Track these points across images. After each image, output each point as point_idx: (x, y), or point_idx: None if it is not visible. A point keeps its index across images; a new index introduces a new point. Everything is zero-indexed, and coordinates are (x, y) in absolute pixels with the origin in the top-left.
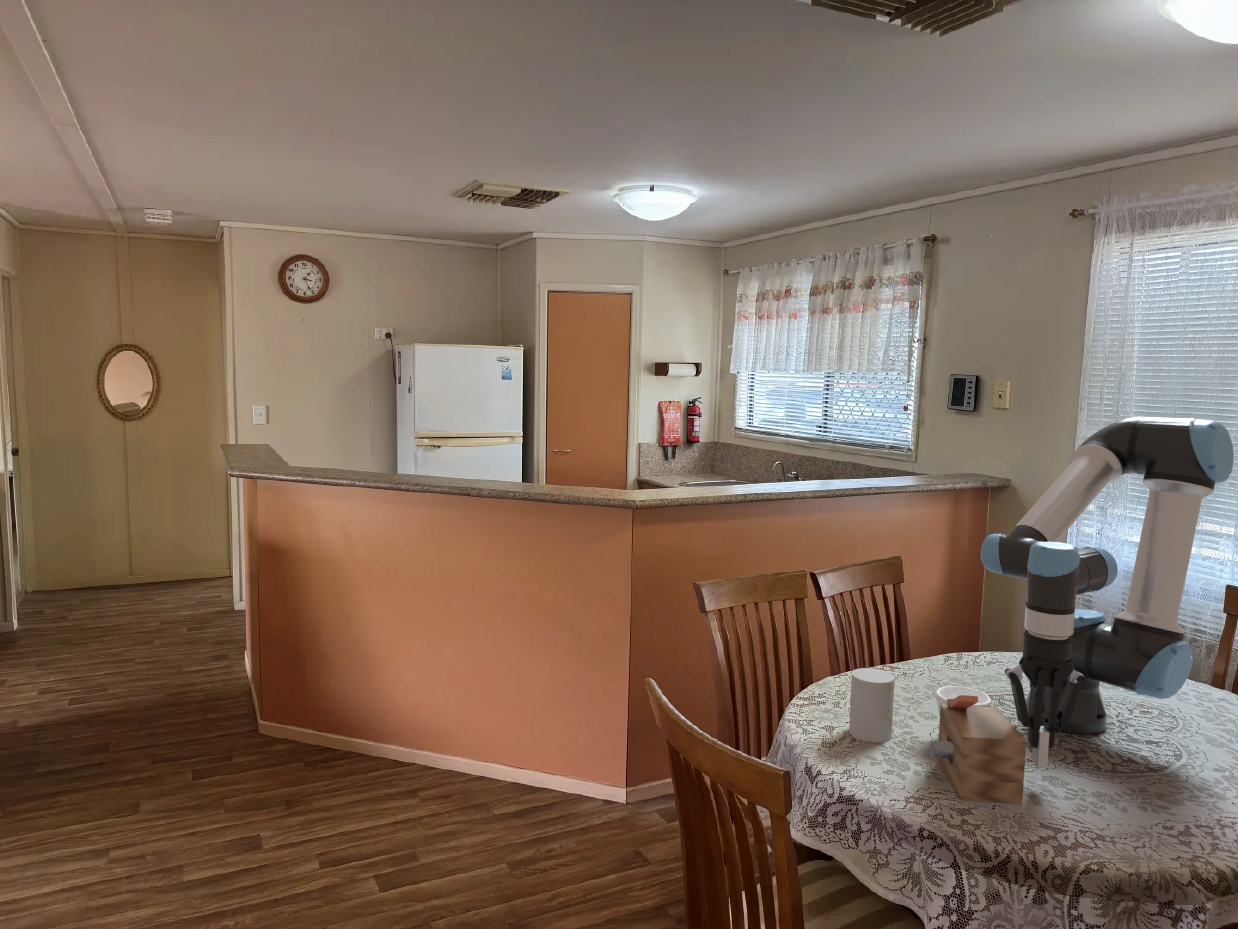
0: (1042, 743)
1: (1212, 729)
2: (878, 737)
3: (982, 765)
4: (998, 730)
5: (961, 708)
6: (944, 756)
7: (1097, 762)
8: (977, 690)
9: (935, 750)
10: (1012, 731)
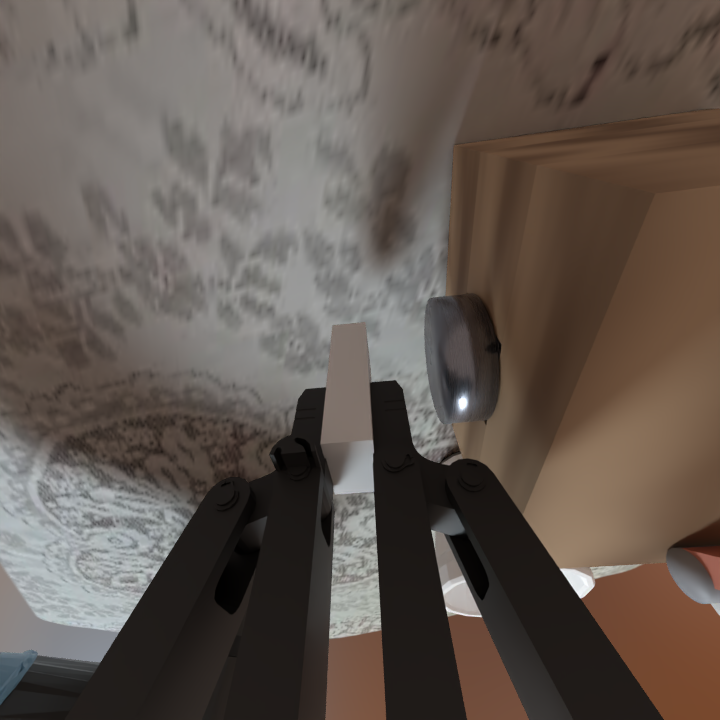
0: (355, 392)
1: (24, 563)
2: None
3: None
4: None
5: (707, 547)
6: None
7: (192, 448)
8: (453, 612)
9: None
10: (629, 376)
